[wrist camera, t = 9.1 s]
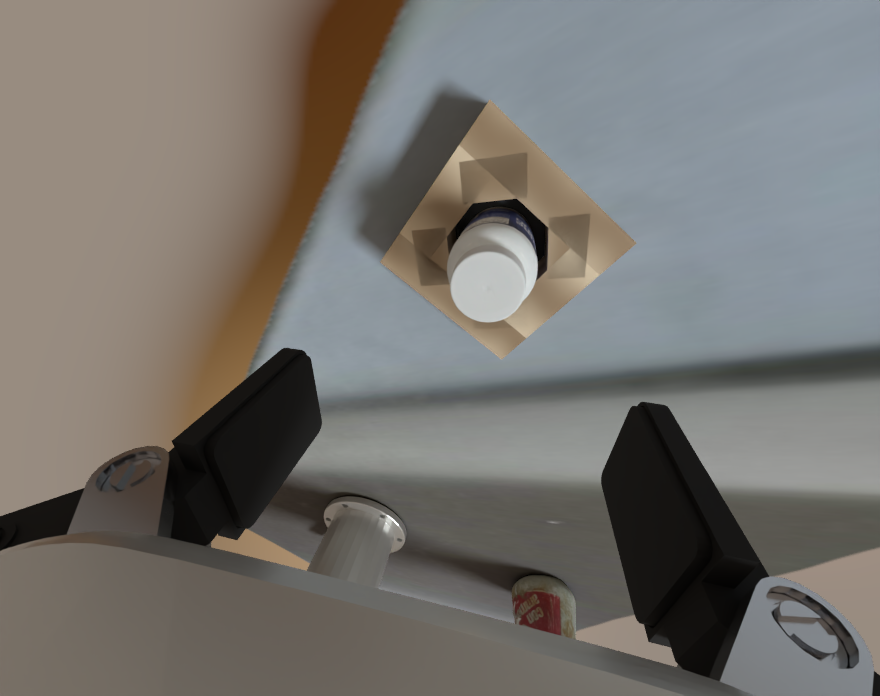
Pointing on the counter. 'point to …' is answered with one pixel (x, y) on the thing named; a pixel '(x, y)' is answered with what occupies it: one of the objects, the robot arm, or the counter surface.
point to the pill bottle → (493, 265)
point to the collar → (540, 190)
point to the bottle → (544, 605)
